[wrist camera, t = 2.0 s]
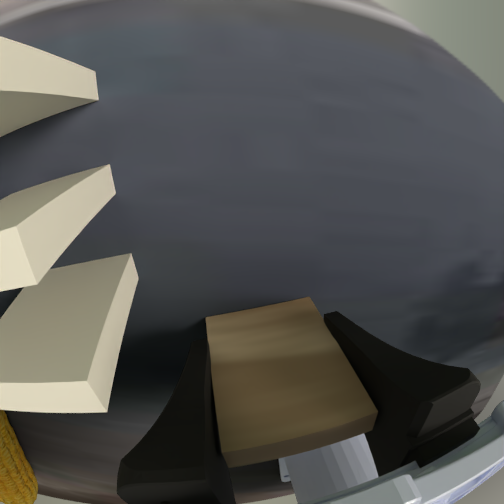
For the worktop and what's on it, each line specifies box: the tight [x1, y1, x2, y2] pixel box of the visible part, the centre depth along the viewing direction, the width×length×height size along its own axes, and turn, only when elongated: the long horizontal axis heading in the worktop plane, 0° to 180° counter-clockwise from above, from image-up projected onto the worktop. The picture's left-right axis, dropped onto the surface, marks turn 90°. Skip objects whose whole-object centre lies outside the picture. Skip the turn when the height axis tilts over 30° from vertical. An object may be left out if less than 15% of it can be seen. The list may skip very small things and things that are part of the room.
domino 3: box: [0, 253, 139, 413], centre depth 9 cm, size 1×5×7 cm, turn 97°
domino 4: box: [206, 297, 378, 468], centre depth 12 cm, size 1×5×7 cm, turn 96°
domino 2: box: [0, 164, 116, 291], centre depth 8 cm, size 1×5×7 cm, turn 96°
